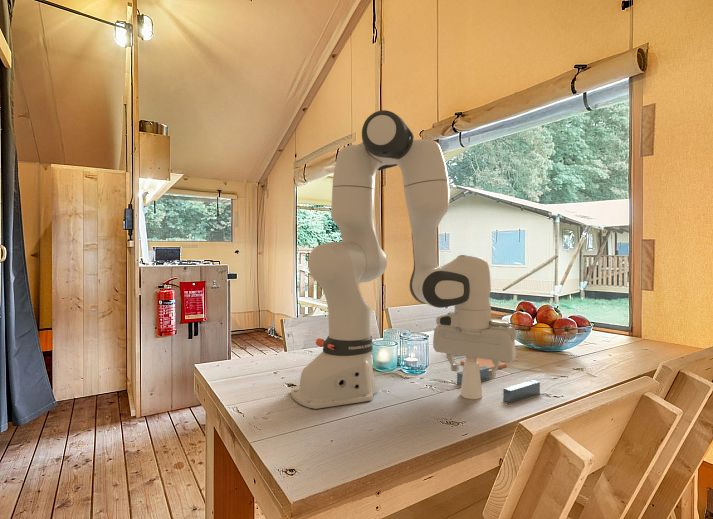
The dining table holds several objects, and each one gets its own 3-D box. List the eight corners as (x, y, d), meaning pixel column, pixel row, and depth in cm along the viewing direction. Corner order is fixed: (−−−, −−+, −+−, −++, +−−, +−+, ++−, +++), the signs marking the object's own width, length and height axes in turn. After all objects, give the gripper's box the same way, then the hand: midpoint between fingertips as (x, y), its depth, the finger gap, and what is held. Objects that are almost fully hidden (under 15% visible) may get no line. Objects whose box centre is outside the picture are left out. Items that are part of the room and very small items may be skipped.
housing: (510, 403, 93) (510, 390, 93) (457, 383, 107) (457, 372, 107) (539, 393, 99) (539, 381, 99) (485, 375, 114) (485, 365, 114)
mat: (485, 372, 118) (485, 368, 118) (460, 364, 126) (460, 361, 126) (506, 366, 123) (506, 363, 123) (481, 359, 131) (481, 356, 131)
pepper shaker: (467, 400, 95) (467, 356, 95) (456, 392, 100) (456, 350, 100) (486, 398, 96) (487, 354, 96) (474, 391, 101) (475, 349, 101)
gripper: (518, 321, 94) (519, 377, 94) (440, 314, 106) (440, 364, 106) (512, 325, 89) (512, 385, 89) (430, 317, 101) (430, 370, 101)
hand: (472, 373), depth 98 cm, fingers open, 8 cm apart
